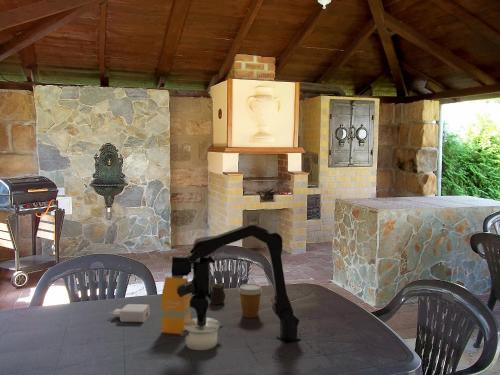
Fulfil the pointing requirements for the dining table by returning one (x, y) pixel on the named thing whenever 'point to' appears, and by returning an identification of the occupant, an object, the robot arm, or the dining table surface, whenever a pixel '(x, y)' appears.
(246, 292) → the disposable coffee cup
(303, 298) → the dining table surface
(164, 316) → the orange juice
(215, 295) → the mate gourd
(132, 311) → the charger
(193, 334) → the pot
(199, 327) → the lid
